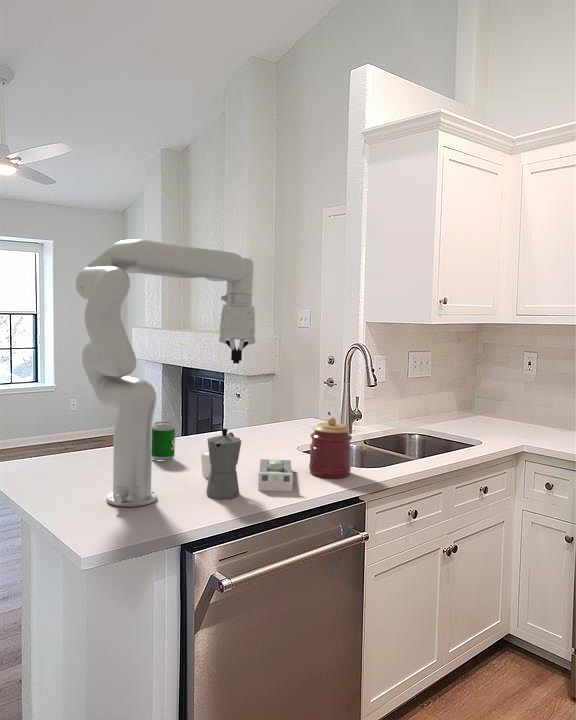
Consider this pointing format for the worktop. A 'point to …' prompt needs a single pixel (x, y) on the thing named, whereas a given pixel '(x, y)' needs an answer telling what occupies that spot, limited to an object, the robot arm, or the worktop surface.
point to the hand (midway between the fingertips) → (236, 363)
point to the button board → (275, 477)
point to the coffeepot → (223, 466)
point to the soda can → (163, 441)
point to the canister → (330, 450)
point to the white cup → (205, 464)
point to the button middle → (275, 466)
